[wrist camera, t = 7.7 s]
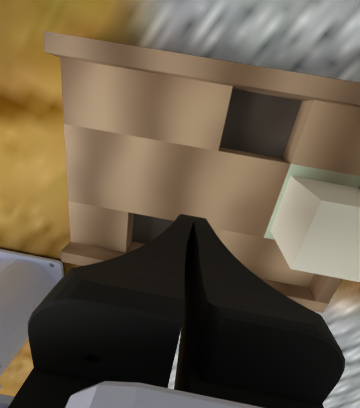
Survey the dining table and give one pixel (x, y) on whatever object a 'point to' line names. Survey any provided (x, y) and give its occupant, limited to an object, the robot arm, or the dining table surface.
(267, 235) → the tray
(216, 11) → the dining table surface
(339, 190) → the block
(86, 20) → the dining table surface
